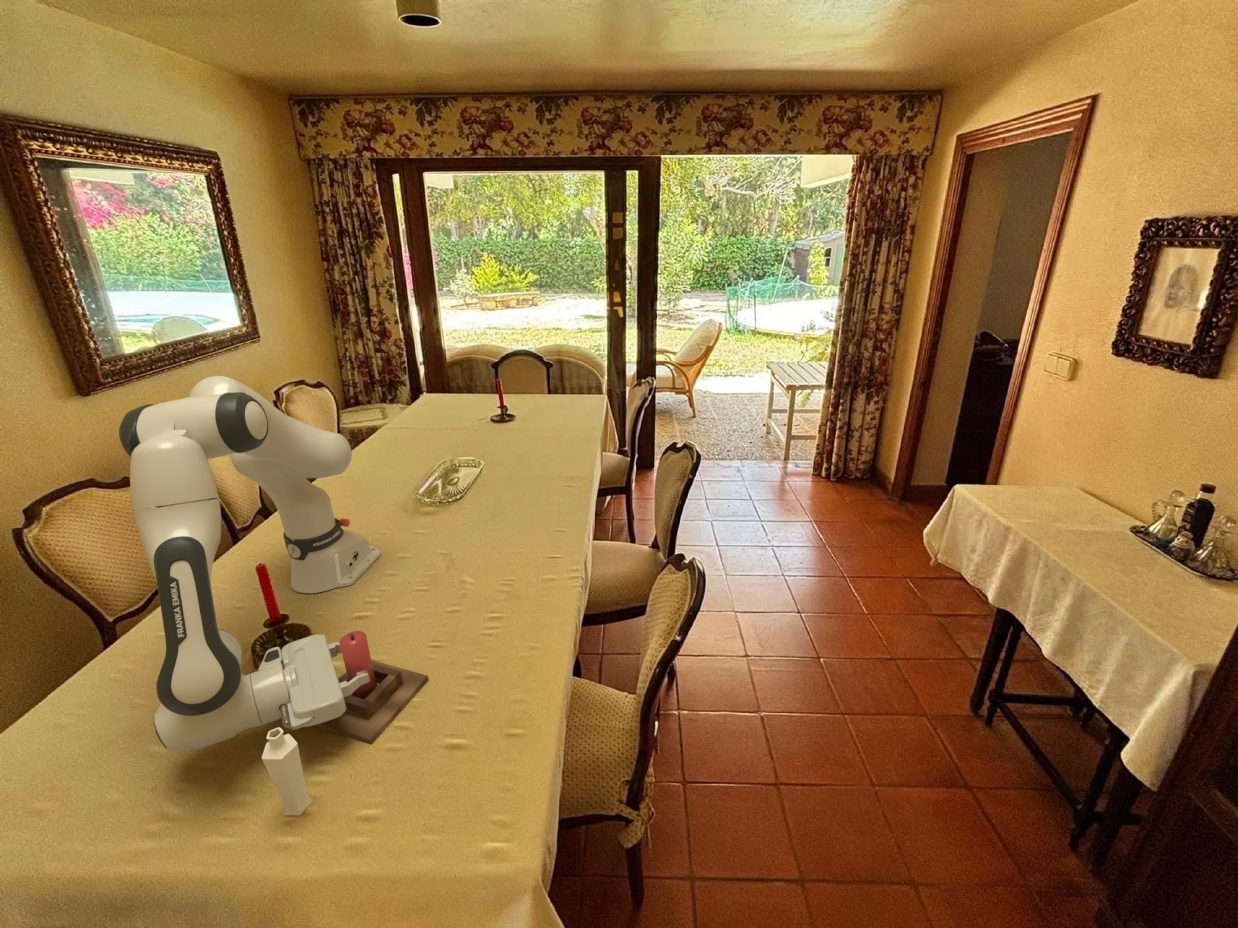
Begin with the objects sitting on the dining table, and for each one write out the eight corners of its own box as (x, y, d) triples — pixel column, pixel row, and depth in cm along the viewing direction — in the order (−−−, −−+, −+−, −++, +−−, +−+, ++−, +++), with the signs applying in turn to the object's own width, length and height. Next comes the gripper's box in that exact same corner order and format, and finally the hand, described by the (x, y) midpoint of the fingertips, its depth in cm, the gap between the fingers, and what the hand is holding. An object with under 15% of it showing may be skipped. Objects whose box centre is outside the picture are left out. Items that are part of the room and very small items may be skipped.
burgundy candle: (358, 686, 110) (344, 626, 105) (381, 685, 110) (368, 626, 105) (349, 703, 106) (334, 643, 101) (373, 703, 106) (359, 642, 101)
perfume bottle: (274, 807, 89) (250, 736, 83) (303, 787, 92) (281, 716, 86) (288, 825, 86) (264, 752, 80) (318, 803, 89) (296, 732, 83)
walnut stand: (362, 660, 118) (359, 645, 116) (428, 679, 113) (425, 663, 112) (299, 719, 104) (294, 703, 103) (371, 744, 99) (367, 726, 98)
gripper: (279, 718, 89) (372, 681, 96) (267, 643, 105) (348, 616, 112) (288, 747, 92) (378, 709, 99) (275, 670, 107) (354, 642, 114)
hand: (362, 659), depth 106 cm, fingers open, 8 cm apart
